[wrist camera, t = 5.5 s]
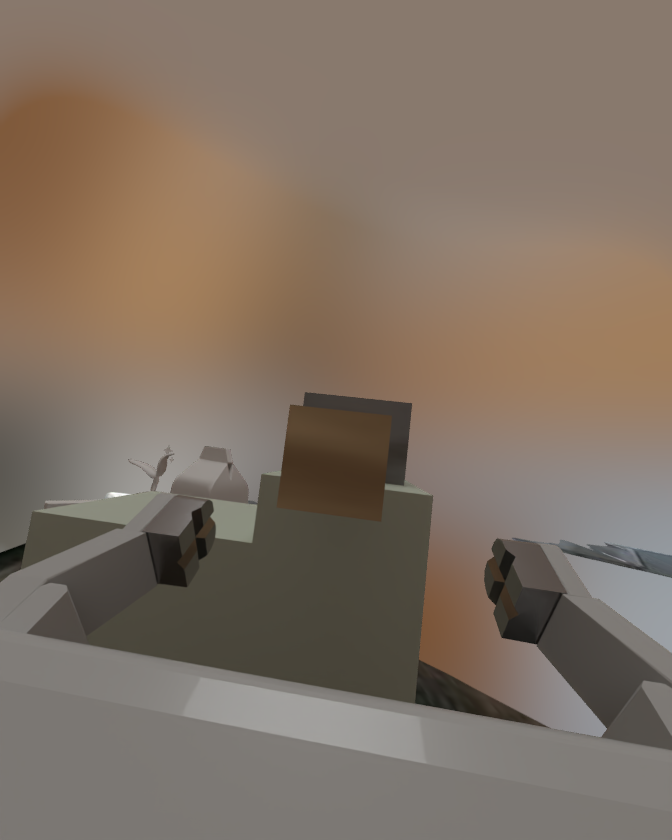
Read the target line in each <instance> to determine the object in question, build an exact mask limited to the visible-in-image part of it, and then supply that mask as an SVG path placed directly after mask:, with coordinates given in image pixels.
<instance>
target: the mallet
mask: <svg viewBox="0 0 672 840" xmlns="http://www.w3.org/2000/svg"><path fill="white" fill-rule="evenodd" d="M411 409H412V403H403V402H393V401H383V400H374V399H364V398H355V397H345V396H336V395H326V394H316V393H307V392H306V393H305V397H304V405H303V406H297V405H290V410H289V417H288V425H287V432H286V440H285V447H284V455H283V462H282V470H281V477H280V485H279V492H278V500H277V507H276V508H283V509H291V510H298V511H306V512H313V513H320V514H328V515H335V516H343V517H350V518H357V519H365V520H372V521H379V522H381V519H382V509H383V499H384V489H385V483H386V484H394V485H402V486H404V481H405V469H406V460H407V450H408V440H409V429H410V419H411Z"/></svg>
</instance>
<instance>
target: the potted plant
mask: <svg viewBox="0 0 672 840" xmlns="http://www.w3.org/2000/svg"><path fill="white" fill-rule="evenodd" d="M165 451H166V455H164V456H163V457H162V458H161V459H160V460H159V463H158V466H157V471H156V470H155V468H154V467H152V466H151V465H149V464H146V463H144V462H141V461H136V460H131V459H128V460H129V462H130V463H132V464H134V465H137V466H138V467H140V468H142V469H143V470H144V471H145V472H146V473H147V474H148V475H149V476H150V477H151V478H154V480H153V484H152V487H151V491H155V490H156V487H157V484H158V482H159V476H162V475H163V473H164V472H165V471H166V467H167V459H168V457H169V456H171V455H174V454H168V453H169V452H171V450H170V447H169V446H168V448H167V449H165ZM170 460H171V462H172V461H173V458H171V459H170ZM142 493H144V492H142ZM136 494H138V493H136Z"/></svg>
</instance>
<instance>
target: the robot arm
mask: <svg viewBox="0 0 672 840" xmlns="http://www.w3.org/2000/svg"><path fill="white" fill-rule="evenodd" d="M213 512H214V508H213V502H212V501H211V500H209V499H202V498H196V497H190V496H184V495H175V494H169V493H160V494H157V495H156V496H155V497H154V498H153V499H152V500H151V501H150V502H149V503H148V504H147V505H146V506H145V507H144V508H143V509H142V510H141V511H140V512H139V513H138V514H137V515H136V516H135V517H134V518H133V519H132V520H131V521H130V522H129V523H128V524H127V525H126V526H125V527H124V528H123V529H115V530H112V531H110V532H108V533H105V534H103V535H101V536H98V537H96V538H94V539H91V540H89V541H87V542H84V543H82V544H80V545H77V546H75V547H73V548H70V549H68V550H66V551H64V552H61V553H59V554H57V555H54V556H52V557H50V558H47V559H45V560H43V561H40V562H38V563H36V564H33V565H31V566H29V567H26V568H24V569H22V570H19V571H17V572H15V573H12V574H10V575H9V576H8V577H7V578H6V579H4V580H3V581H2V582H1V583H0V840H672V653H670V652H669V651H668V650H667V649H665V648H664V647H663V646H661V645H660V644H658V643H657V642H656V641H655V640H653V639H652V638H650V637H649V636H648V635H646V634H645V633H644V632H642V631H641V630H640V629H638V628H637V627H636V626H634V625H633V624H632V623H630V622H629V621H628V620H626V619H625V618H624V617H622V616H621V615H620V614H618V613H617V612H615V611H614V610H613V609H612V608H610V607H609V606H608V605H606V604H605V603H603V602H602V601H601V600H600V599H594V598H592V597H591V595H590V594H589V592H588V591H587V589H586V588H585V586H584V584H583V583H582V581H581V580H580V578H579V577H578V575H577V574H576V572H575V571H574V569H573V568H572V566H571V564H570V563H569V561H568V560H567V558H566V557H565V555H564V554H563V552H562V551H561V549H560V548H559V547H557V546H556V545H548V544H540V543H528V542H521V541H513V540H504V539H496V541H495V542H494V544H493V546H492V552H493V554H494V557H493V558H492V559H490V560H489V561H487V564H486V568H485V578H484V582H485V587H486V591H487V595H488V598H489V599H490V600H491V601H492V602H493V603H494V604H495V605H496V607H495V610H494V616H495V619H496V622H497V625H498V628H499V631H500V634H501V637H502V638H506V639H511V640H516V641H521V642H527V643H532V644H537V647H538V648H539V649H540V650H541V652H542V653H543V654H544V655H545V656H546V658H547V659H548V660H549V661H550V662H551V663H552V665H553V666H554V667H555V668H556V669H557V670H558V672H559V673H560V674H561V675H562V676H563V677H564V679H565V680H566V681H567V682H568V683H569V684H570V686H571V687H572V688H573V689H574V690H575V691H576V692H577V694H578V695H579V696H580V697H581V698H582V700H583V701H584V702H585V703H586V704H587V706H588V707H589V708H590V709H591V710H592V711H593V713H594V714H595V715H596V716H597V717H598V718H599V720H600V721H601V722H602V723H603V724H604V725H605V727H606V728H607V730H606V732H605V733H604V734H603V736H602V737H596V736H590V735H585V734H579V733H573V732H567V731H562V730H557V729H551V728H546V727H540V726H535V725H529V724H524V723H518V722H513V721H507V720H501V719H496V718H490V717H485V716H479V715H474V714H468V713H463V712H457V711H452V710H446V709H441V708H435V707H429V706H424V705H418V704H413V703H407V702H402V701H396V700H391V699H385V698H380V697H374V696H369V695H363V694H357V693H352V692H346V691H341V690H335V689H330V688H324V687H319V686H313V685H308V684H302V683H296V682H291V681H285V680H280V679H274V678H269V677H263V676H258V675H252V674H247V673H241V672H236V671H230V670H225V669H219V668H214V667H208V666H203V665H198V664H192V663H187V662H181V661H176V660H170V659H165V658H159V657H153V656H148V655H142V654H137V653H131V652H126V651H120V650H115V649H109V648H104V647H98V646H93V645H90V644H89V642H88V639H87V637H86V636H88V635H89V634H90V633H92V632H93V631H95V630H96V629H97V628H99V627H100V626H102V625H103V624H104V623H106V622H107V621H109V620H110V619H111V618H113V617H114V616H116V615H117V614H118V613H120V612H121V611H122V610H124V609H125V608H127V607H128V606H129V605H131V604H132V603H134V602H135V601H136V600H138V599H139V598H141V597H142V596H143V595H145V594H146V593H148V592H149V591H150V590H152V589H153V588H154V587H156V586H157V584H164V585H172V586H180V587H188V586H189V584H190V582H191V581H192V579H193V578H194V576H195V574H196V573H197V571H198V569H199V568H200V567H199V560H200V559H202V558H204V557H205V556H207V555H208V553H209V551H210V550H211V548H212V546H213V543H214V539H215V534H216V525H215V522H214V521H213V519H212V518H211V517H210V516H211V515H212V513H213Z"/></svg>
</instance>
